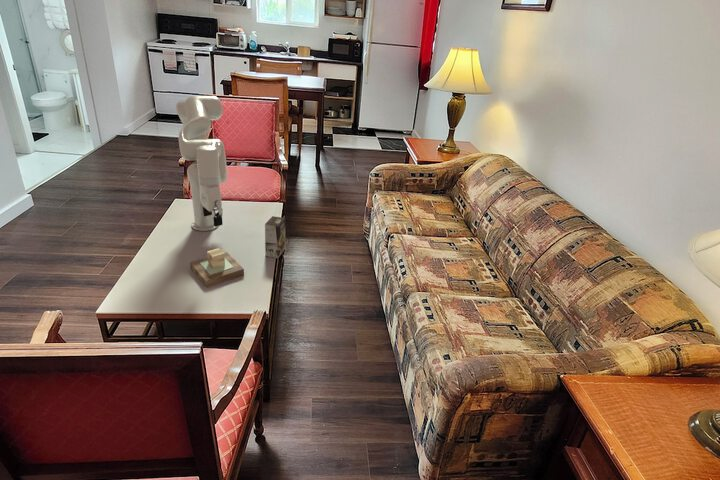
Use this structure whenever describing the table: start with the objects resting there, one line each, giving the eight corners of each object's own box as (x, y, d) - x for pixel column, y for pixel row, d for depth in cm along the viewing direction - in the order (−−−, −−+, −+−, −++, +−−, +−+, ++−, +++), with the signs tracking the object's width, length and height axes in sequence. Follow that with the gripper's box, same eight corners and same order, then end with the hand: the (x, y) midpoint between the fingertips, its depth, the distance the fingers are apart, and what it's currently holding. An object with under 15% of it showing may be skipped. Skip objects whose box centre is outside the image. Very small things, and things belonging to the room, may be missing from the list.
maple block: (208, 263, 176) (207, 251, 173) (219, 260, 179) (218, 248, 176) (213, 269, 173) (212, 256, 170) (225, 265, 176) (224, 253, 173)
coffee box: (278, 258, 190) (278, 226, 182) (264, 256, 191) (264, 224, 183) (285, 248, 198) (285, 217, 190) (272, 246, 199) (272, 215, 191)
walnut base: (190, 268, 178) (189, 261, 176) (227, 257, 187) (226, 251, 186) (206, 287, 167) (205, 280, 166) (244, 275, 177) (243, 268, 175)
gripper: (190, 173, 161) (194, 213, 170) (209, 189, 150) (212, 232, 159) (209, 170, 166) (213, 209, 174) (229, 185, 155) (232, 227, 163)
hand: (213, 220), depth 167 cm, fingers open, 9 cm apart
